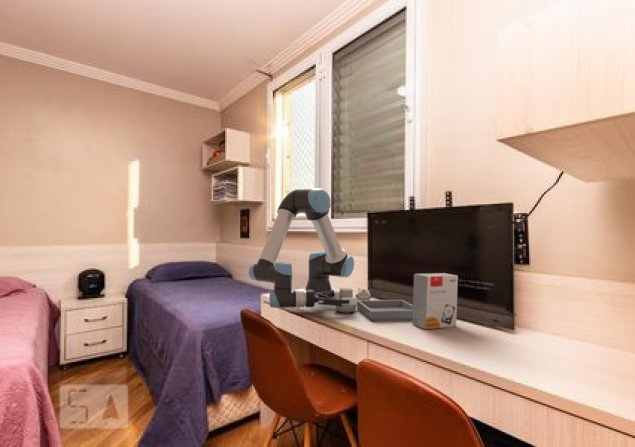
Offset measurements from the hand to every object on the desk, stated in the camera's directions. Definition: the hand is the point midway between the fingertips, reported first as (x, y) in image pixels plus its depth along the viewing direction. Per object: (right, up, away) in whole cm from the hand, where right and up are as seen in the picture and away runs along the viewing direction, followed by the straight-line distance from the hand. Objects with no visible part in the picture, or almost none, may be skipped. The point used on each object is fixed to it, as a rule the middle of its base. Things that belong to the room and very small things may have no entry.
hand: (352, 297), depth 152 cm
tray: (+15, -6, -4) cm, 17 cm away
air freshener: (-3, -6, 0) cm, 7 cm away
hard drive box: (+30, -7, -20) cm, 37 cm away
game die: (+7, -6, +13) cm, 16 cm away
